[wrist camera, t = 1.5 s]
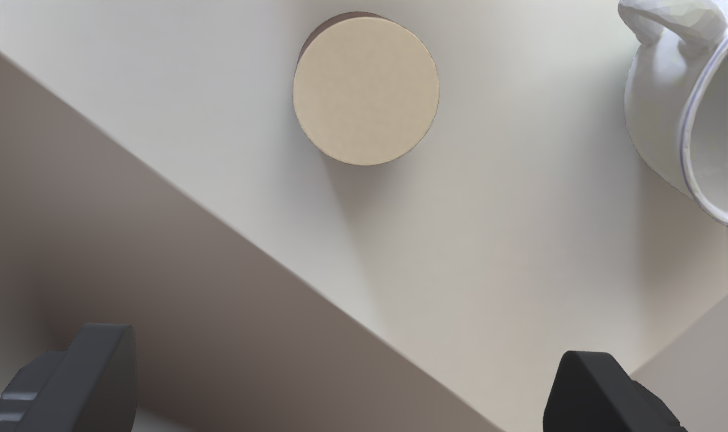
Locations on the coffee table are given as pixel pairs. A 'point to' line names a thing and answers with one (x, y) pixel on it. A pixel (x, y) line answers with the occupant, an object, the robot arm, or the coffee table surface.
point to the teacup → (681, 95)
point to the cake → (365, 89)
